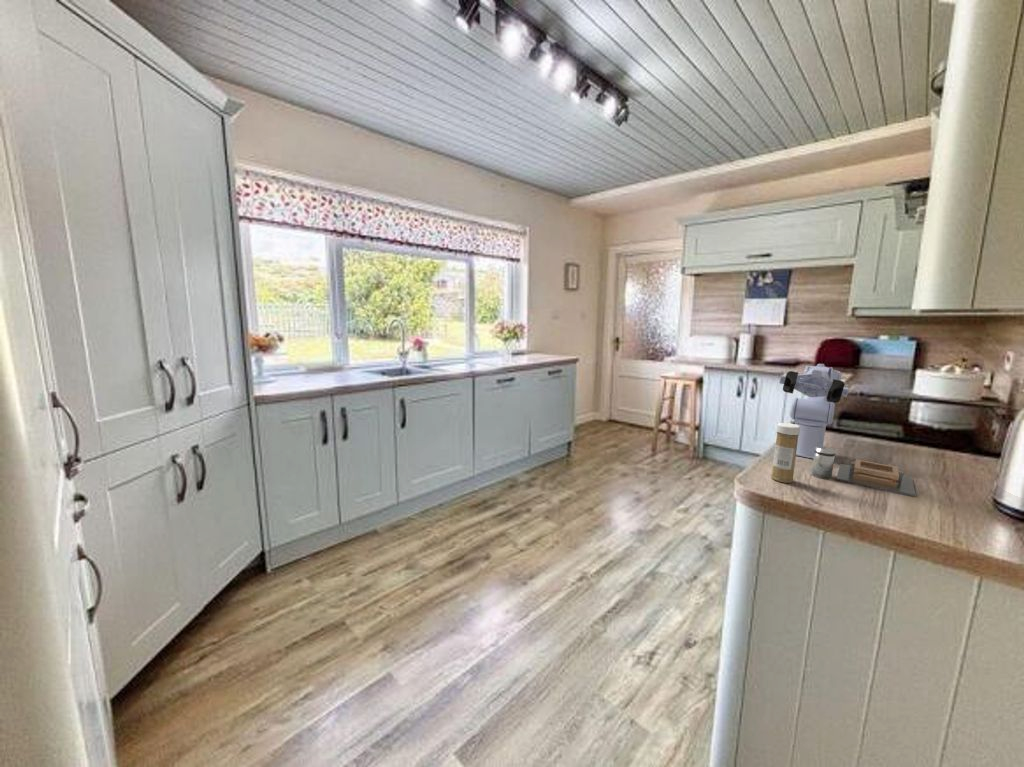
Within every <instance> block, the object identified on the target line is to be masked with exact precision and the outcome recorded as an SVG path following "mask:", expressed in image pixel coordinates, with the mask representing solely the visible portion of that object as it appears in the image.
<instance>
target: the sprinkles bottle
mask: <svg viewBox="0 0 1024 767" xmlns="http://www.w3.org/2000/svg"><path fill="white" fill-rule="evenodd" d="M799 434H800V426H798V425H795V423H789V422H779V423H777V426H776V440H775V446H774V451H773V452H774V453H773V460H772V471H771V472H772V473H771V475H770V477H771V479H772V480H774V481H776V482H779V483H786V484H790V483H793V481H794V475H795V474H794V473H795V468H796V458H797V455H796V451H797V443H798V436H799Z"/></svg>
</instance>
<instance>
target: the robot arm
mask: <svg viewBox="0 0 1024 767" xmlns="http://www.w3.org/2000/svg"><path fill="white" fill-rule="evenodd" d="M841 379H842V372H841V371H839V370H838V369H837V370H836V369H833V367H832V366H831V367H827V366H826V365H825V363H818V364H816V366H815V365H813V366H812V365H807V364H806V366H805V368H804V370H803V373H802V374H801V373H800V374H799V372H795V371H793V370H790V371H787V373H786V375H785V374H782V375H781V376H780V380H779V382H778V383H779V385H780V384H781V385H783V386H782V391H783V392H785V393H788V394H794V391H797V392H799V393H801V394H803V395H804V396H806V397H807V398H798V397H794V398H793V399H792V402H791V406H790V412H789V417H790V418H791V420H793V422H794V424H795V425H798V426H800V434H799V436H798V443H797V451H796V457H797V456H798V457H804V458H809V459H813V460H814V454H815V447H816V446H824V441H825V435H826V427H827V426H830V425H831V424H833V423H834V416H835V408H836V404H835V403H837V404H838V403H839V402H840V401H841V398H842V397H844V398H847V397H848V394H849V390H850V388H849V387H846V385H845V382H844V381H843V380H841Z"/></svg>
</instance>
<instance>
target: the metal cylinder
mask: <svg viewBox="0 0 1024 767" xmlns="http://www.w3.org/2000/svg"><path fill="white" fill-rule="evenodd" d="M835 456H836V449H835V448H833V447H830V446H824V445H823V446H816V447H815V454H814V459H813V461H812V470H811V476H813V477H815V478H817V479H822V480H832V477H833V470H834V463H835Z"/></svg>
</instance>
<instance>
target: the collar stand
mask: <svg viewBox="0 0 1024 767" xmlns="http://www.w3.org/2000/svg"><path fill="white" fill-rule="evenodd" d="M862 466H863V467H862ZM874 468H875V469H874ZM879 469H880V470H879ZM884 470H885V471H884ZM889 471H890V472H889ZM836 481H838V482H843V483H848V484H851V485H852V484H853V485H856V486H862V487H866V488H872V489H876V490H881V491H886V492H890V493H895V494H899V495H904V496H909V497H913V498H915V497H916V491H915V486H914V482H913V478H912V476H906V475H904V472H903V470H899V467H898V466H895V465H894V466H893V465H890V464H884V463H877V462H874V461H867V460H863V459H862V460H861V459H855V461H851V462H850V465H848V464H843V463H839V467H838V471H837V475H836Z"/></svg>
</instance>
